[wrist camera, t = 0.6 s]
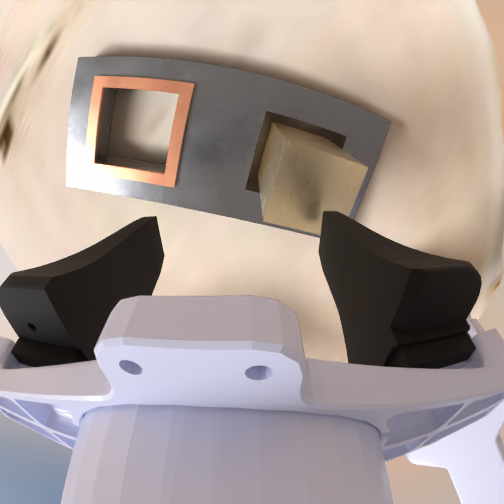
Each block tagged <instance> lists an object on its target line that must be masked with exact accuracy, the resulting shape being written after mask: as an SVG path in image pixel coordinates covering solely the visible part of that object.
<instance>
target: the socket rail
mask: <svg viewBox="0 0 504 504" xmlns="http://www.w3.org/2000/svg"><path fill="white" fill-rule="evenodd" d="M116 88H127V89H140V90H151V91H161V92H169V93H177V94H179V97H178V102H177V107H176V112H175V117H174V122H173V127H172V132H171V138H170V143H169V149H168V155H167V162H166V164H161V163H155V162H149V161H142V160H136V159H130V158H123V157H116V156H108V146H109V136H110V128H111V120H112V113H113V106H114V100H115V94H116ZM266 111H268V112H272V113H276V114H280V115H283V116H287V117H290V118H294V119H297V120H300V121H303V122H307V123H310V124H313V125H316V126H319V127H322V128H325V129H328V130H331V131H334V132H336V133H338V134H337V137H336V140H335V143H334V144H336V145H337V146H339V147H340V148H342V149H343V150H344V151H346V152H347V153H349V154H350V155H352V156H353V157H354V158H356V159H357V160H359V161H360V162H361V163H363V164H364V165H365V166H367V167H368V170H367V172H366V175H365V177H364V180H363V182H362V185H361V188H360V190H359V192H358V195H357V197H356V200H355V202H354V205H353V207H352V209H351V212H350V214H349V217H350V218H351V219H354V217H355V214H356V212H357V210H358V207H359V205H360V203H361V200H362V198H363V195H364V193H365V190H366V188H367V185H368V183H369V180H370V178H371V175H372V173H373V170H374V168H375V165H376V162H377V160H378V157H379V154H380V152H381V149H382V146H383V143H384V141H385V138H386V135H387V132H388V129H389V126H390V123H391V121H389V120H387V119H385V118H383V117H381V116H379V115H377V114H374V113H372V112H370V111H368V110H365V109H363V108H361V107H358V106H356V105H353V104H351V103H348V102H346V101H343V100H341V99H338V98H335V97H333V96H330V95H327V94H325V93H322V92H319V91H316V90H313V89H310V88H307V87H304V86H301V85H297V84H294V83H291V82H287V81H284V80H280V79H277V78H273V77H269V76H265V75H261V74H257V73H253V72H248V71H244V70H239V69H234V68H229V67H224V66H218V65H213V64H206V63H200V62H192V61H184V60H176V59H165V58H152V57H131V56H98V57H79V58H78V62H77V68H76V73H75V79H74V85H73V91H72V99H71V107H70V116H69V127H68V141H67V186H69V187H75V188H81V189H87V190H93V191H99V192H104V193H110V194H116V195H121V196H127V197H132V198H137V199H143V200H148V201H153V202H158V203H163V204H168V205H173V206H178V207H183V208H188V209H193V210H198V211H203V212H208V213H212V214H217V215H222V216H226V217H231V218H236V219H240V220H245V221H249V222H254V223H258V224H263V225H267V226H272V227H276V228H280V229H285V230H289V231H293V232H297V233H302V234H306V235H310V236H314V237H318V238H320V235H318V234H314V233H310V232H306V231H302V230H298V229H293V228H289V227H285V226H281V225H276V224H272V223H268V222H263V216H262V207H261V198H260V189H259V184H258V183H253V182H249V181H247V180H248V176H249V173H250V169H251V165H252V162H253V158H254V154H255V151H256V147H257V143H258V140H259V136H260V132H261V129H262V125H263V122H264V118H265V115H266Z"/></svg>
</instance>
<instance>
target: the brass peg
mask: <svg viewBox="0 0 504 504" xmlns="http://www.w3.org/2000/svg"><path fill="white" fill-rule="evenodd" d="M367 170H368V167H367V166H365V165H364V164H363V163H361V162H360V161H359V160H357V159H356V158H354V157H353V156H352V155H350V154H349V153H347V152H346V151H344V150H343V149H342V148H340V147H339V146H337V145H336V144H334V143H333V142H331V141H330V140H328V139H327V138H325V137H322V136H318V135H315V134H312V133H309V132H306V131H303V130H299V129H296V128H293V127H289V126H286V125H282V124H279V123H275V122H272V125H271V128H270V132H269V135H268V139H267V142H266V146H265V149H264V153H263V156H262V160H261V163H260V167H259V170H258V181H259V189H260V198H261V207H262V216H263V222H268V223H272V224H276V225H281V226H285V227H289V228H293V229H298V230H302V231H306V232H310V233H314V234H318V235H321V225H322V215H323V211H338V212H340V213H342V214H344V215H346V216H348V217H349V214H350V212H351V209H352V207H353V205H354V202H355V200H356V197H357V195H358V192H359V190H360V188H361V185H362V182H363V180H364V177H365V175H366V172H367Z"/></svg>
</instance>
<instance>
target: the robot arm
mask: <svg viewBox="0 0 504 504" xmlns="http://www.w3.org/2000/svg"><path fill="white" fill-rule="evenodd" d="M319 256H320V260H321V265H322V269H323V272H324V275H325V277H326V280H327V282H328V285H329V288H330V290H331V293H332V295H333V298H334V301H335V303H336V306H337V309H338V312H339V316H340V320H341V324H342V329H343V333H344V339H345V344H346V350H347V356H348V363H341V362H332V361H325V360H317V359H310V358H305V354H304V348H303V343H302V337H301V331H300V327H299V323H298V319H297V316H296V313H295V312H294V311H293V310H291V309H290V308H288V307H287V306H286V305H284V304H283V303H282V302H280V301H279V300H276V299H270V298H264V297H258V296H252V295H241V296H151V295H152V293H153V290H154V288H155V285H156V283H157V280H158V278H159V275H160V272H161V268H162V264H163V260H164V252H163V247H162V242H161V237H160V232H159V227H158V222H157V217H156V216H153V217H143V218H140V219H138V220H136V221H134V222H132V223H130V224H129V225H127V226H125V227H123V228H122V229H120V230H119V231H117V232H115V233H114V234H112V235H110V236H108V237H107V238H105V239H103V240H101V241H100V242H98V243H96V244H94V245H92V246H91V247H89V248H87V249H84V250H82V251H80V252H78V253H76V254H74V255H71V256H68V257H66V258H64V259H61V260H59V261H56V262H53V263H50V264H47V265H43V266H40V267H36V268H32V269H28V270H23V271H19V272H14V273H12V274H10V275H9V277H8V278H7V279H6V280H5V281H4V283H3V284H2V285H1V286H0V307H1V309H2V311H3V313H4V315H5V316H6V318H7V320H8V321H9V323H10V324H11V326H12V328H13V329H14V330H15V332H16V333H17V335H18V337H19V339H18V340H17V342H16V343H15V342H13V341H12V340H10V339H8V338H5V337H1V336H0V411H1V412H2V413H3V414H4V415H5V416H7V417H8V418H10V419H12V420H14V421H16V422H18V423H20V424H22V425H23V426H25V427H28V428H29V429H31V430H33V431H35V432H37V433H39V434H41V435H43V436H45V437H47V438H49V439H51V440H53V441H55V442H57V443H60V444H62V445H64V446H66V447H69V448H71V449H73V453H72V457H71V461H70V465H69V469H68V473H67V477H66V482H65V486H64V491H63V496H62V501H61V504H393V500H392V494H391V489H390V484H389V479H388V475H387V469H386V464H385V462H386V461H389V460H392V459H394V458H397V457H400V456H402V455H406V457H407V458H408V459H409V461H410V462H411V463H413V464H419V465H425V466H434V467H441V468H446V469H447V470H448V472H449V474H450V477H451V479H452V482H453V484H454V486H455V489H456V491H457V494H458V496H459V499H460V501H461V504H504V444H503V442H502V440H501V437H500V435H499V432H500V430H501V428H502V426H503V423H504V341H503V339H502V337H501V336H500V334H499V333H498V331H497V330H496V329H491V330H488V331H484V329H483V328H482V326H481V325H480V323H479V322H478V320H477V319H471V316H470V312H471V310H472V308H473V307H474V305H475V303H476V301H477V298H478V296H479V293H480V289H481V276H480V275H479V273H478V271H477V270H476V269H475V268H474V267H473V266H472V265H471V263H469V262H467V261H461V260H455V259H449V258H444V257H439V256H435V255H431V254H428V253H424V252H421V251H418V250H415V249H412V248H409V247H407V246H404V245H401V244H399V243H397V242H394V241H392V240H390V239H388V238H386V237H384V236H382V235H380V234H378V233H376V232H374V231H372V230H370V229H369V228H367V227H365V226H363V225H362V224H360V223H358V222H356V221H355V220H353V219H351V218H350V217H348V216H346V215H344V214H342V213H340V212H338V211H323V215H322V225H321V235H320V244H319Z"/></svg>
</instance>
